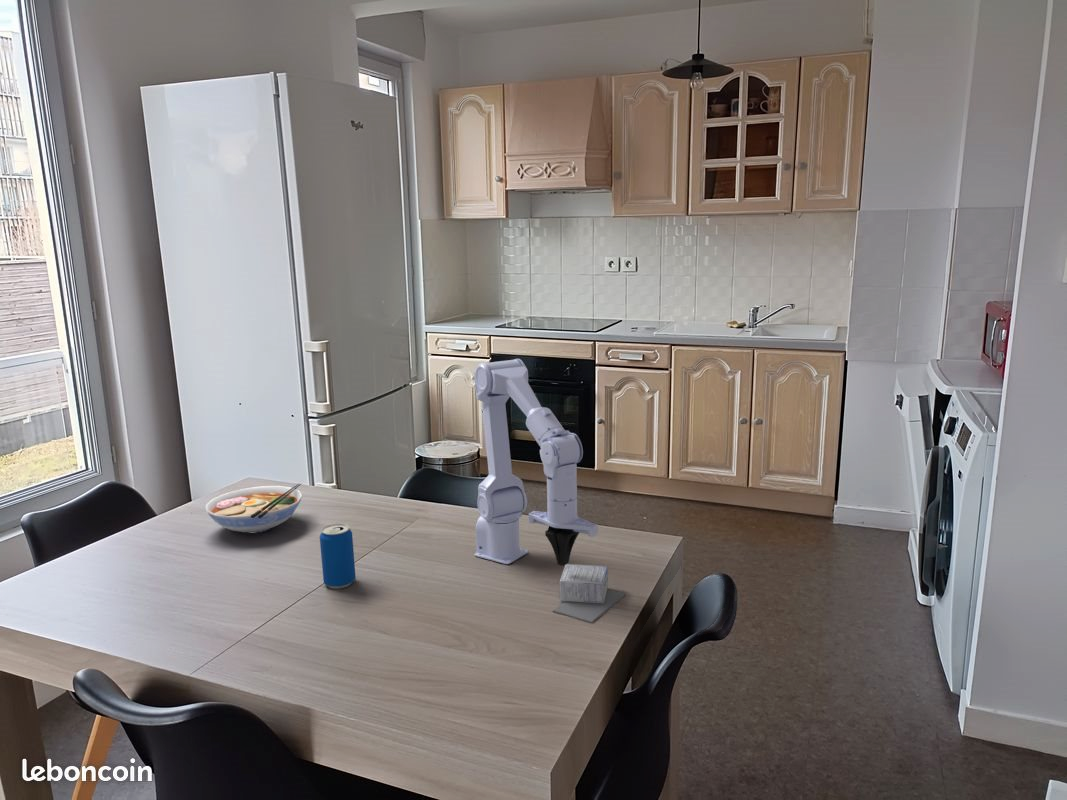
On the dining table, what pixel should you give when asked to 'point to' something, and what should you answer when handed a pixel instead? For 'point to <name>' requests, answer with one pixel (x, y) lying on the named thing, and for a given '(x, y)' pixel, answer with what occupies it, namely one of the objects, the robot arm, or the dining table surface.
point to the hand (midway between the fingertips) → (563, 563)
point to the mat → (588, 607)
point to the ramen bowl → (254, 507)
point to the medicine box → (583, 583)
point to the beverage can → (337, 556)
